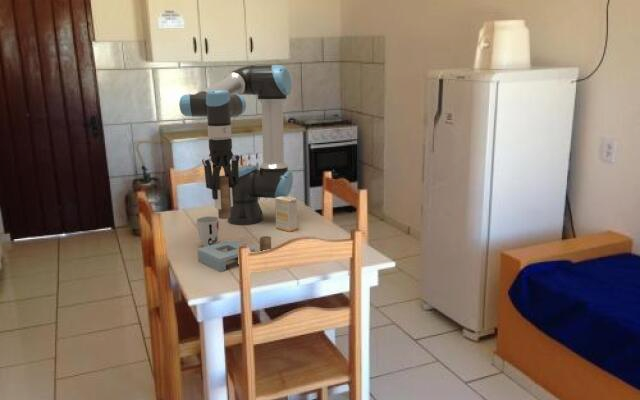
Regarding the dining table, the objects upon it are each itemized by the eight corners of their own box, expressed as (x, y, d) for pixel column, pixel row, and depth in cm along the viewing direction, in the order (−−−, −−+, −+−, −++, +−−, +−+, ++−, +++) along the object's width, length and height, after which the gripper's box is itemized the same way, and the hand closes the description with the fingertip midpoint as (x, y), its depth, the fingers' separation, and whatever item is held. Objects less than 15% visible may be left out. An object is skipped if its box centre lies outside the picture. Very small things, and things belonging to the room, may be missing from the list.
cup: (209, 249, 204) (207, 223, 202) (193, 246, 208) (191, 220, 206) (224, 243, 211) (223, 218, 208) (208, 240, 215) (206, 215, 212)
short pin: (258, 253, 199) (257, 237, 198) (266, 251, 202) (266, 235, 200) (264, 256, 196) (264, 240, 195) (273, 253, 199) (273, 237, 198)
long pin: (216, 217, 189) (213, 176, 186) (226, 215, 192) (224, 175, 189) (223, 219, 186) (220, 178, 183) (232, 217, 189) (230, 176, 186)
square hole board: (198, 261, 193) (197, 248, 192) (231, 251, 202) (231, 239, 201) (220, 271, 183) (220, 258, 182) (255, 260, 192) (254, 248, 191)
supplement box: (298, 229, 226) (297, 198, 223) (289, 232, 223) (288, 200, 219) (284, 225, 231) (283, 195, 228) (275, 228, 228) (274, 197, 225)
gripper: (203, 141, 174) (208, 214, 180) (248, 136, 186) (251, 204, 191) (191, 139, 180) (196, 209, 185) (235, 134, 191) (238, 200, 197)
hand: (223, 207), depth 188 cm, fingers closed on long pin, 4 cm apart
